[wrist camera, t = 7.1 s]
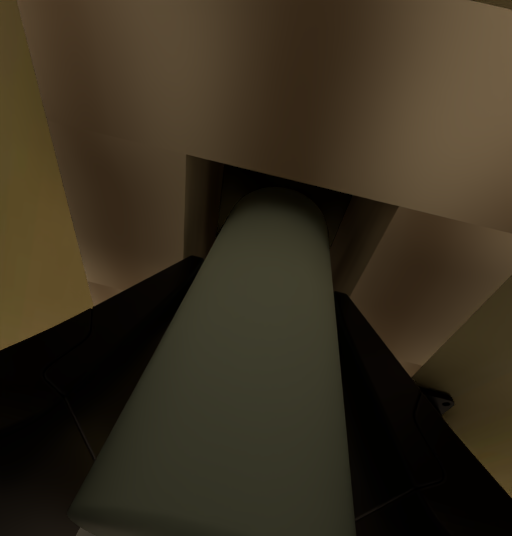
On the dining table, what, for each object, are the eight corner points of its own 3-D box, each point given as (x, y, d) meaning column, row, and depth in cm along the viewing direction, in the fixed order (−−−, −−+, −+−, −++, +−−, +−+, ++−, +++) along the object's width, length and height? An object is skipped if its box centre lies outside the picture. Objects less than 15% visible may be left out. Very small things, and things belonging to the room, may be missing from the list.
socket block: (542, 60, 9) (723, 58, 5) (362, 332, 18) (377, 411, 14) (127, -36, 9) (-12, -112, 5) (149, 278, 18) (102, 340, 14)
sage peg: (343, 202, 10) (431, 583, 3) (309, 285, 12) (306, 600, 5) (233, 175, 10) (22, 475, 3) (221, 263, 12) (95, 544, 5)
